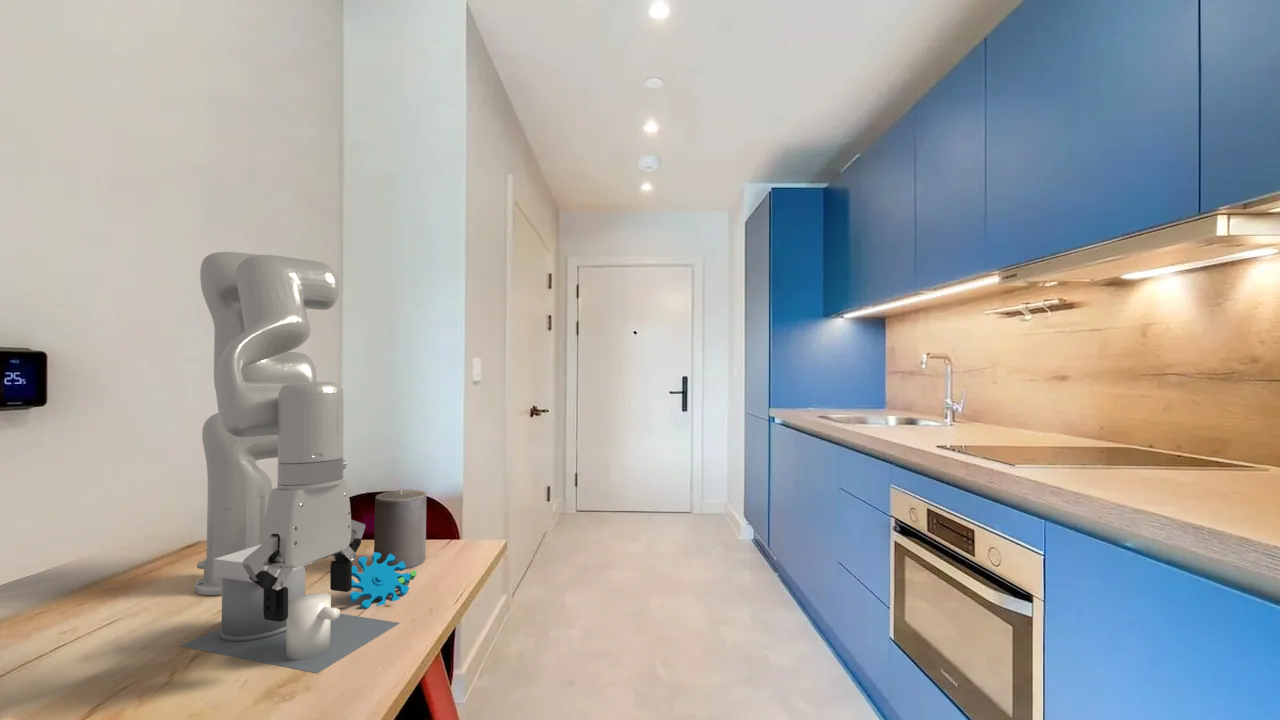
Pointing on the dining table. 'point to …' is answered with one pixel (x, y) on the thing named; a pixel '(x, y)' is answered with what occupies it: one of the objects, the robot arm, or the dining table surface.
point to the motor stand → (274, 622)
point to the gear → (380, 580)
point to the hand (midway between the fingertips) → (310, 604)
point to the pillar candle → (401, 526)
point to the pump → (309, 625)
